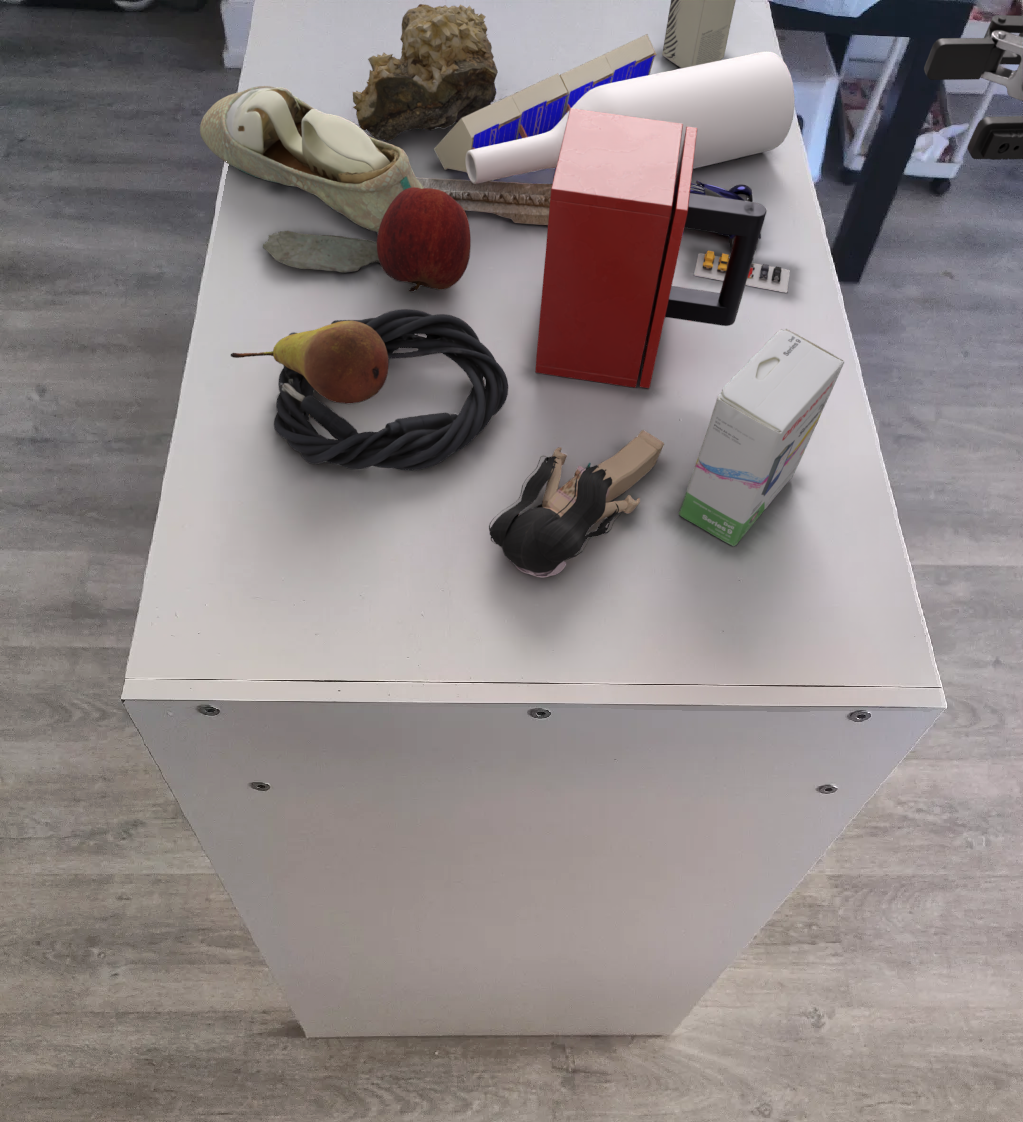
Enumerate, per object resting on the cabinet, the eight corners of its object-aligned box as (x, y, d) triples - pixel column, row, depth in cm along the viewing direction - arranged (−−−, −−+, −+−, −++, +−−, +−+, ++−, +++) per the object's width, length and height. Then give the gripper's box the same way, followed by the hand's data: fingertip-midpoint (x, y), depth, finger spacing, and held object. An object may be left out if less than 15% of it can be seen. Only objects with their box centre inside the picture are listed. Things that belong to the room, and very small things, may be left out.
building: (647, 30, 95) (666, 72, 96) (610, 64, 101) (629, 103, 102) (462, 116, 87) (485, 161, 88) (433, 149, 92) (455, 191, 93)
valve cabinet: (647, 307, 85) (683, 122, 71) (635, 388, 80) (672, 205, 66) (551, 293, 85) (570, 107, 72) (534, 372, 80) (551, 188, 67)
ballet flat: (243, 93, 95) (209, 16, 88) (459, 187, 88) (442, 113, 81) (189, 157, 93) (150, 84, 86) (404, 258, 87) (382, 188, 79)
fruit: (367, 309, 67) (245, 282, 73) (334, 391, 67) (214, 357, 73) (414, 348, 71) (296, 320, 77) (383, 424, 72) (267, 390, 78)
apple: (490, 280, 85) (493, 191, 78) (427, 327, 82) (425, 238, 75) (423, 241, 87) (421, 151, 80) (360, 285, 84) (352, 196, 77)
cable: (507, 352, 81) (510, 306, 77) (506, 486, 74) (509, 443, 70) (289, 343, 80) (281, 297, 76) (267, 478, 73) (257, 434, 69)
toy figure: (582, 432, 77) (472, 555, 70) (603, 371, 72) (486, 497, 65) (662, 481, 76) (559, 611, 69) (689, 423, 71) (581, 557, 64)
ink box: (735, 447, 77) (778, 320, 67) (795, 481, 76) (848, 355, 65) (675, 516, 73) (710, 391, 63) (736, 552, 72) (783, 431, 62)
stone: (400, 234, 87) (394, 264, 83) (399, 251, 88) (393, 282, 85) (268, 218, 86) (257, 249, 83) (270, 236, 87) (259, 267, 84)
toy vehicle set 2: (786, 292, 86) (789, 285, 86) (693, 275, 87) (695, 267, 86) (789, 269, 88) (792, 262, 87) (698, 252, 89) (700, 245, 88)
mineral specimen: (359, 68, 100) (350, -46, 92) (490, 70, 101) (493, -42, 93) (355, 155, 93) (346, 41, 85) (497, 157, 94) (501, 44, 85)
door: (723, 317, 84) (773, 137, 71) (717, 398, 79) (769, 221, 66) (650, 306, 84) (686, 125, 71) (639, 387, 80) (675, 208, 66)
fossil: (599, 187, 92) (602, 185, 88) (595, 228, 93) (598, 228, 89) (399, 173, 92) (394, 170, 88) (399, 214, 93) (393, 213, 89)
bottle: (807, 99, 89) (496, 169, 82) (770, 169, 97) (482, 239, 89) (767, 28, 91) (458, 90, 83) (734, 102, 99) (448, 165, 91)
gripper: (1183, -30, 65) (939, -29, 63) (1294, 98, 57) (1021, 102, 56) (1117, 90, 71) (894, 93, 70) (1209, 218, 64) (963, 225, 62)
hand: (951, 97), depth 63 cm, fingers open, 8 cm apart
